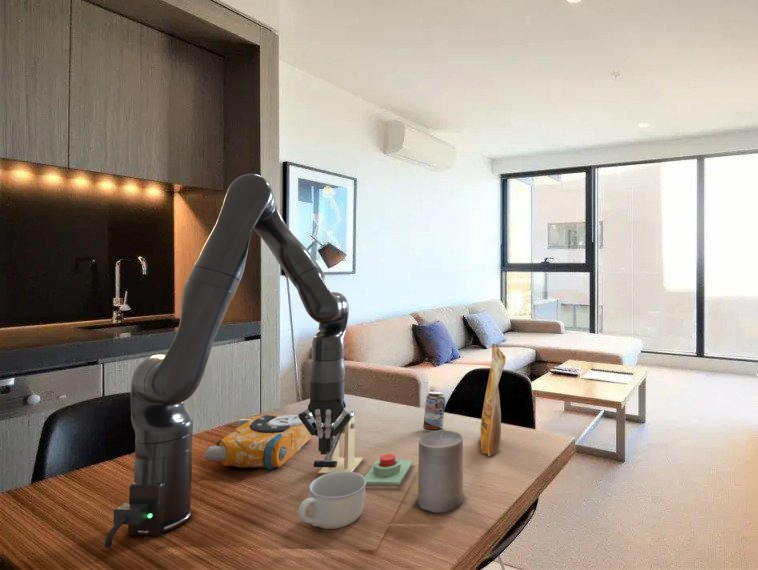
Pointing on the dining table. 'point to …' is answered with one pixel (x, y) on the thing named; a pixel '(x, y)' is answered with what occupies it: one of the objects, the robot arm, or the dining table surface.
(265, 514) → the dining table surface
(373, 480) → the button block
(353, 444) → the lever bracket
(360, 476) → the teacup
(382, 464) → the button
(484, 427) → the pancake mix bag
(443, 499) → the pillar candle
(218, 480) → the dining table surface
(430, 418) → the beverage can
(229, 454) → the device
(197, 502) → the dining table surface
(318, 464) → the press lever
